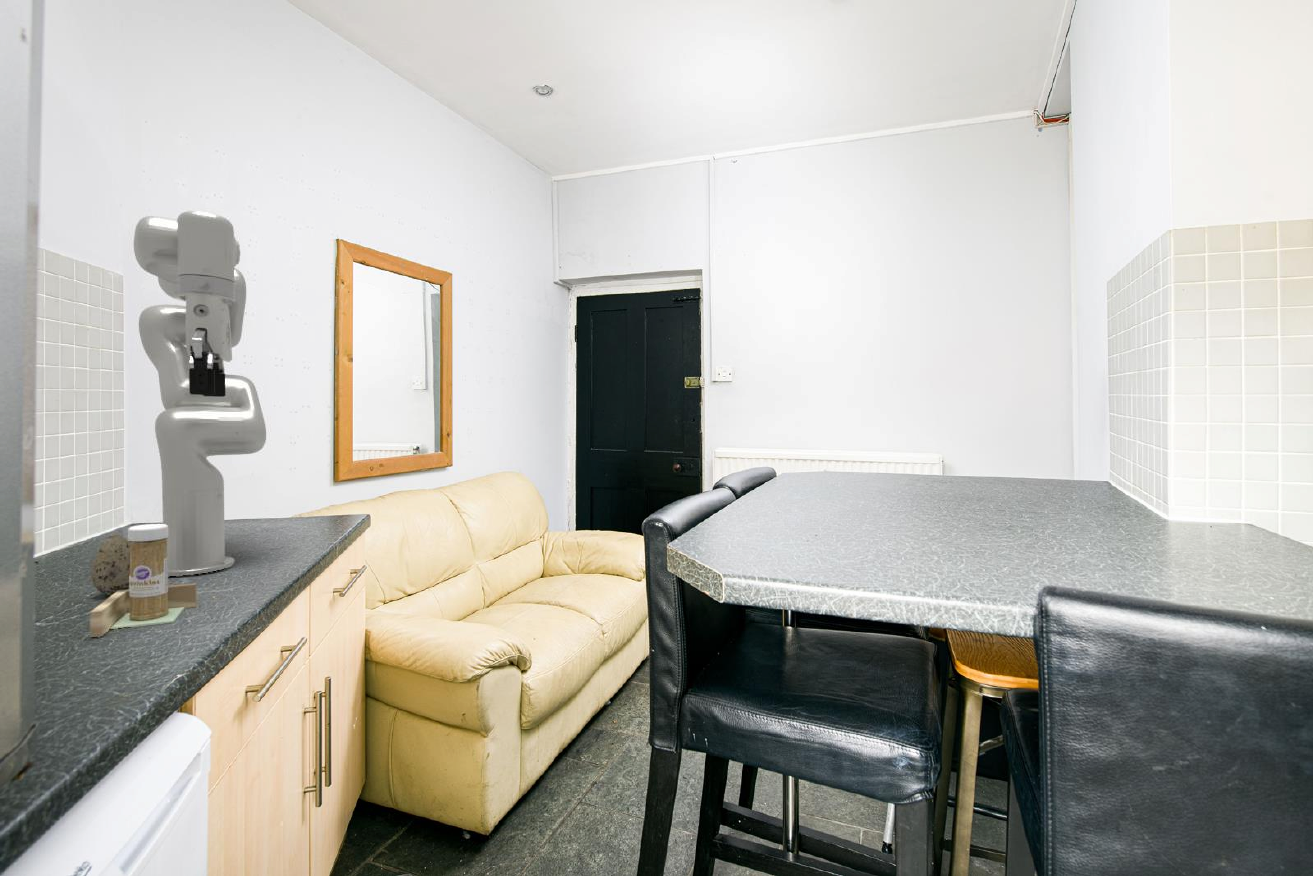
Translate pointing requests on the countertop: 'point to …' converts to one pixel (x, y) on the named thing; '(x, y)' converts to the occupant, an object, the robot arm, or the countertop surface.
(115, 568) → the decorative egg
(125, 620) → the pad
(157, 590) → the sprinkles bottle
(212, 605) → the countertop surface
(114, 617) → the corner walls
